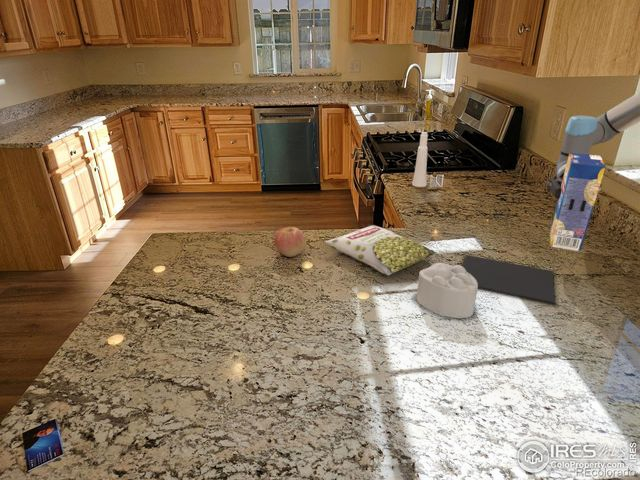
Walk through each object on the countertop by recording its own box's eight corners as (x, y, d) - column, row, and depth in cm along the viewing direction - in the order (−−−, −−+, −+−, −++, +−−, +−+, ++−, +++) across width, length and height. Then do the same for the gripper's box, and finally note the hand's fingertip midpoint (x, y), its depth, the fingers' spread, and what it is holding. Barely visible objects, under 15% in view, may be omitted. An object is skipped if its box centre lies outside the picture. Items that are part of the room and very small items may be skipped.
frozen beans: (389, 265, 105) (322, 233, 122) (387, 285, 107) (322, 251, 124) (439, 243, 117) (372, 216, 134) (436, 261, 120) (371, 233, 137)
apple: (286, 264, 118) (285, 238, 115) (269, 252, 124) (267, 228, 121) (311, 254, 123) (310, 229, 120) (293, 244, 129) (292, 220, 126)
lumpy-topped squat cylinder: (437, 284, 108) (441, 254, 104) (483, 307, 99) (489, 275, 95) (410, 299, 102) (414, 268, 98) (457, 325, 93) (463, 291, 89)
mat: (552, 272, 113) (552, 270, 113) (553, 304, 100) (554, 302, 100) (466, 256, 121) (466, 255, 121) (457, 283, 108) (457, 281, 108)
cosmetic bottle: (418, 181, 183) (423, 130, 173) (429, 185, 178) (435, 132, 169) (408, 184, 179) (413, 132, 170) (420, 188, 175) (425, 134, 165)
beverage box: (577, 234, 116) (600, 155, 106) (580, 251, 107) (605, 166, 97) (549, 230, 119) (569, 152, 109) (550, 246, 110) (571, 163, 100)
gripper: (546, 162, 123) (547, 186, 104) (605, 168, 118) (617, 195, 99) (540, 187, 127) (540, 214, 108) (598, 194, 121) (608, 224, 102)
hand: (577, 205), depth 103 cm, fingers closed on beverage box, 2 cm apart
